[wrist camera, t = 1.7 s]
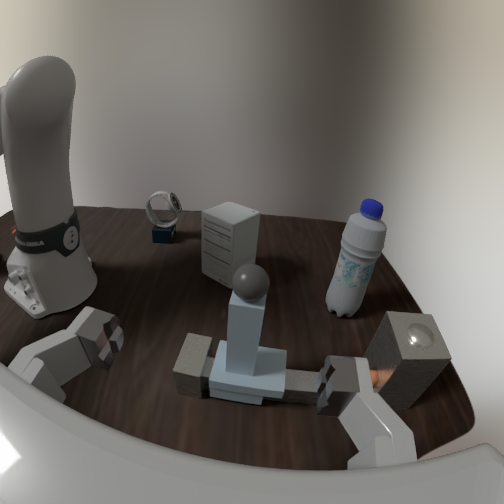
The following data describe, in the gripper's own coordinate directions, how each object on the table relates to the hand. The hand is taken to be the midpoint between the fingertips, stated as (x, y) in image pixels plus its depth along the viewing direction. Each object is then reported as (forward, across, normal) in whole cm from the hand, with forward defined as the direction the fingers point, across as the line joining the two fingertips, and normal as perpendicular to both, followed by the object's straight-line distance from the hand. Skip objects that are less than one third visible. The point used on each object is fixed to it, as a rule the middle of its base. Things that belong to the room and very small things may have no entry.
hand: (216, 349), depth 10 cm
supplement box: (+36, -6, -22) cm, 43 cm away
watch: (+46, -23, -22) cm, 56 cm away
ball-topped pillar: (+12, +1, -21) cm, 25 cm away
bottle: (+31, +15, -22) cm, 41 cm away
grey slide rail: (+14, +8, -22) cm, 27 cm away
